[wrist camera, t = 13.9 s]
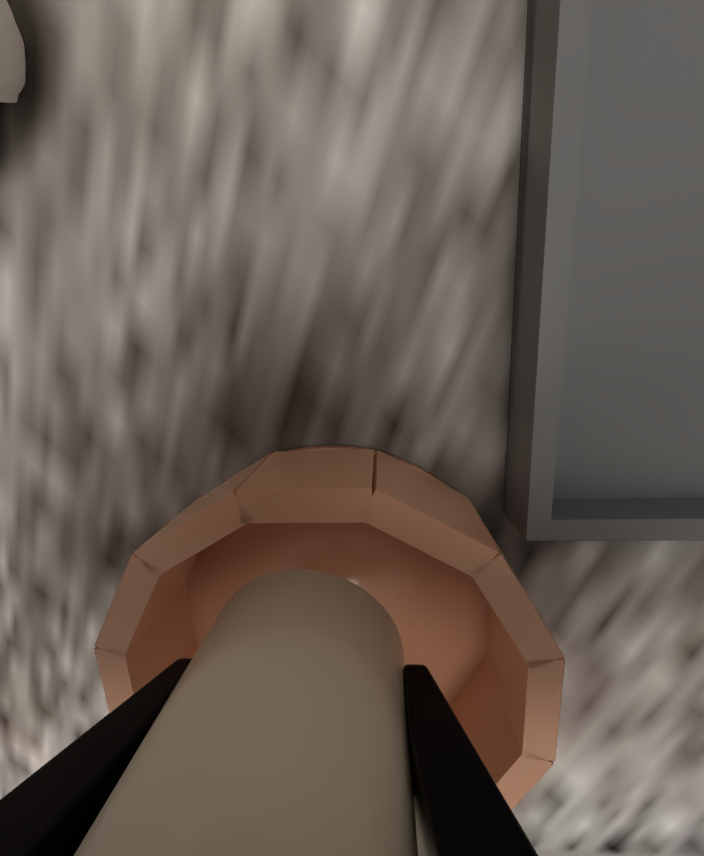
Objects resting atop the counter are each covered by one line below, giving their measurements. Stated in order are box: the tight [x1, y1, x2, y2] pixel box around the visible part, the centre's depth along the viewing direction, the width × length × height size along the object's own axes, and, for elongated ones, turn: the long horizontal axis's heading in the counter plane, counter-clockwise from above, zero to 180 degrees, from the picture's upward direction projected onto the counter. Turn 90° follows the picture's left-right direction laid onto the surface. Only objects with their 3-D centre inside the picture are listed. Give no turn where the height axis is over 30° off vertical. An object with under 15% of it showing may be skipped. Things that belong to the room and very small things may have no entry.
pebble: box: [74, 569, 418, 856], centre depth 5 cm, size 4×4×4 cm
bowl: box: [94, 445, 565, 810], centre depth 11 cm, size 12×12×4 cm
